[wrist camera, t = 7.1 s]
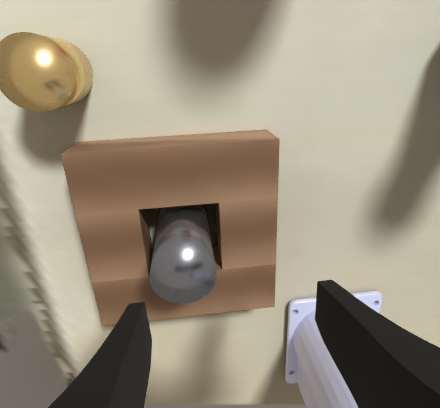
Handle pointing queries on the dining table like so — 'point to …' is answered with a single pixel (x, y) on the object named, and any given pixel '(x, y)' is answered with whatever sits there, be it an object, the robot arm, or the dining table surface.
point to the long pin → (182, 255)
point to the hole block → (170, 197)
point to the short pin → (43, 72)
